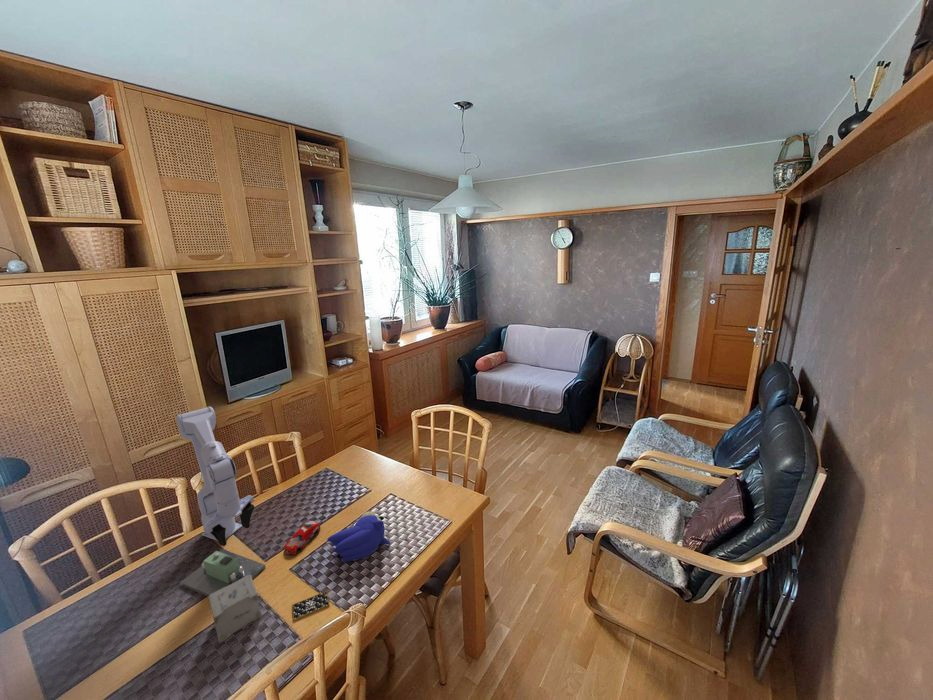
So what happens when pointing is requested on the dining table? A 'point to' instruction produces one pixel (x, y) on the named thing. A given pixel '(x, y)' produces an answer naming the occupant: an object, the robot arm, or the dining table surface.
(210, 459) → the robot arm
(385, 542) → the toy
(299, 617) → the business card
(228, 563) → the green box
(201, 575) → the chassis
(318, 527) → the race car
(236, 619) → the grey box
